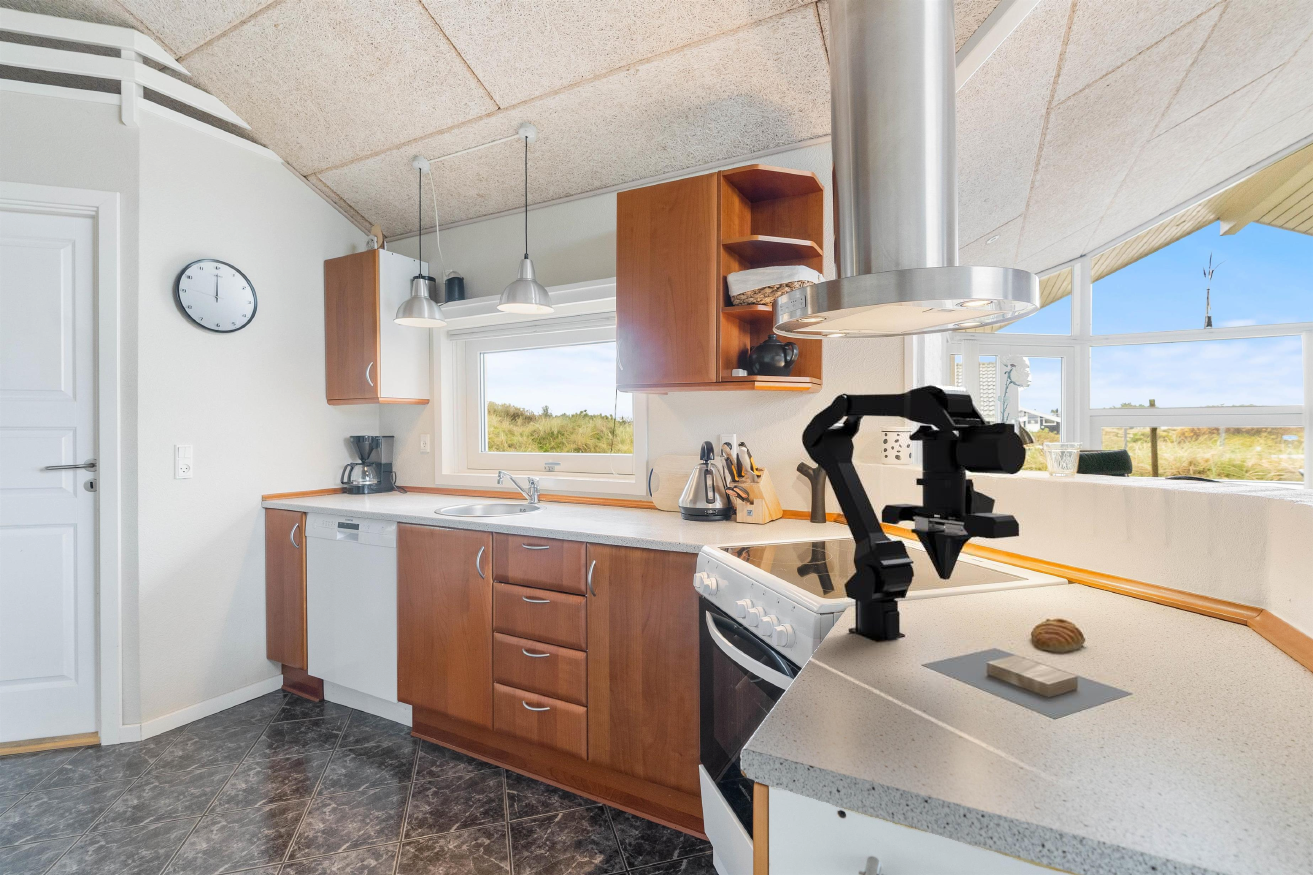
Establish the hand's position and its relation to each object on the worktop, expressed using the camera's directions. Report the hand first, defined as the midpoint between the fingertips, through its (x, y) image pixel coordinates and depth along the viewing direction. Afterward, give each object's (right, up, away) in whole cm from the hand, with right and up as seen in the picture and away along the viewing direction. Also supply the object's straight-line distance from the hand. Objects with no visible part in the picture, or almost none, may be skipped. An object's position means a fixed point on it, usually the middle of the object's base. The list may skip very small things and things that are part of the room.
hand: (944, 578), depth 84 cm
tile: (+5, -11, -5) cm, 13 cm away
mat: (+7, -12, -7) cm, 15 cm away
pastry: (+21, -13, +7) cm, 26 cm away
